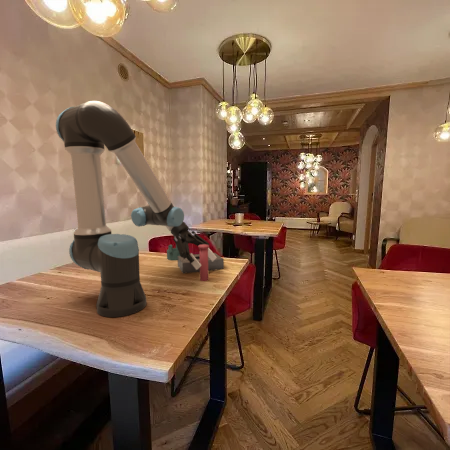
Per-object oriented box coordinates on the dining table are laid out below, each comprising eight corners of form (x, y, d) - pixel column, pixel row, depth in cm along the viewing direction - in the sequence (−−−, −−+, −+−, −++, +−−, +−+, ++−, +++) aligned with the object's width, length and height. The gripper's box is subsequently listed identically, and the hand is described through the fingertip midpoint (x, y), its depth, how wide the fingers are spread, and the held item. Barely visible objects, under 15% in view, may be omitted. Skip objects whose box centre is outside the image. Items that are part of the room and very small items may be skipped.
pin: (200, 282, 108) (199, 246, 106) (198, 278, 112) (197, 244, 110) (210, 280, 109) (210, 246, 107) (207, 277, 113) (207, 244, 111)
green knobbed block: (169, 261, 141) (168, 245, 140) (165, 257, 149) (165, 242, 148) (185, 259, 145) (184, 243, 144) (180, 256, 153) (180, 241, 152)
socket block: (182, 273, 119) (182, 263, 119) (177, 265, 132) (177, 256, 132) (223, 269, 126) (223, 259, 125) (215, 261, 139) (214, 252, 138)
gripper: (187, 228, 126) (215, 261, 122) (153, 236, 104) (185, 277, 100) (196, 218, 124) (225, 251, 119) (163, 224, 101) (197, 265, 97)
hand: (207, 263), depth 109 cm, fingers open, 13 cm apart
